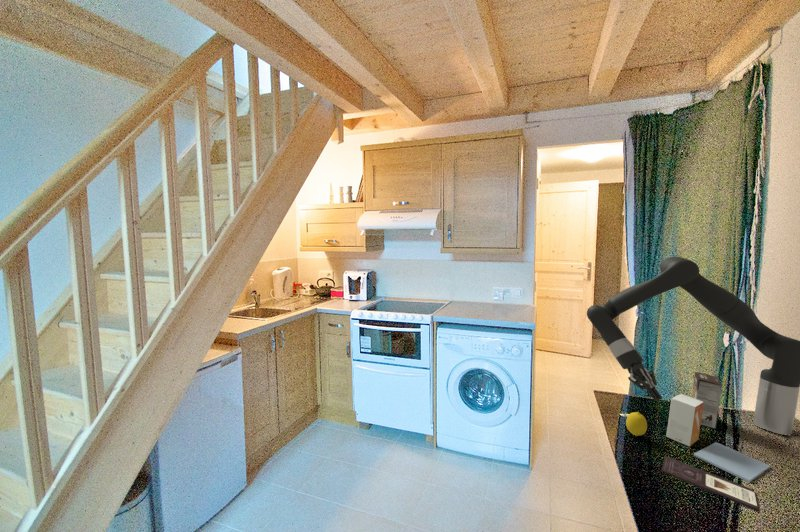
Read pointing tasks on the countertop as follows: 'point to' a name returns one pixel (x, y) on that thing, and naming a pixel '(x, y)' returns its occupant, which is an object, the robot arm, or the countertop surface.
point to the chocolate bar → (710, 482)
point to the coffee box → (707, 397)
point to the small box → (684, 419)
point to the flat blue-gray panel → (732, 461)
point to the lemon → (636, 423)
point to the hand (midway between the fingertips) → (658, 399)
